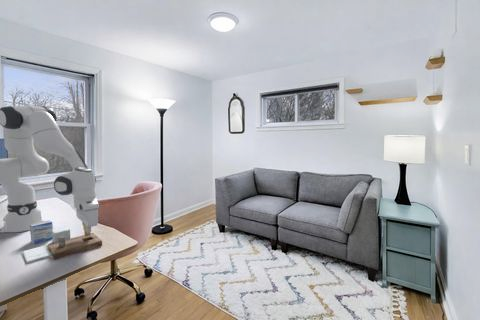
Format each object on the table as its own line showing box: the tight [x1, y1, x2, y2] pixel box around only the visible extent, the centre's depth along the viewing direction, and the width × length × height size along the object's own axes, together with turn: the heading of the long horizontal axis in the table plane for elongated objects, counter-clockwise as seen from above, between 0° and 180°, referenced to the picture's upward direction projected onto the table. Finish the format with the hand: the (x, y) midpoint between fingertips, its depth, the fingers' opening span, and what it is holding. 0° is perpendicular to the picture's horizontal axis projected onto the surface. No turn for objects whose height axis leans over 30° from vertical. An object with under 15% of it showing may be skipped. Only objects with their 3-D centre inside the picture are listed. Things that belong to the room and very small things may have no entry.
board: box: [47, 232, 103, 260], centre depth 110 cm, size 13×18×6 cm
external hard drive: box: [22, 244, 53, 264], centre depth 103 cm, size 2×8×12 cm
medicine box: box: [29, 220, 54, 245], centre depth 117 cm, size 8×4×9 cm, turn 143°
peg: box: [83, 224, 92, 236], centre depth 113 cm, size 2×2×6 cm
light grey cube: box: [51, 226, 71, 243], centre depth 116 cm, size 6×6×6 cm
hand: (87, 230), depth 113 cm, fingers closed on peg, 2 cm apart
